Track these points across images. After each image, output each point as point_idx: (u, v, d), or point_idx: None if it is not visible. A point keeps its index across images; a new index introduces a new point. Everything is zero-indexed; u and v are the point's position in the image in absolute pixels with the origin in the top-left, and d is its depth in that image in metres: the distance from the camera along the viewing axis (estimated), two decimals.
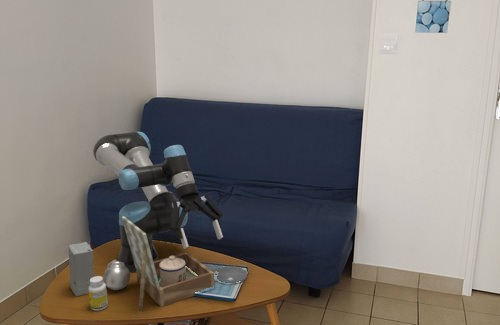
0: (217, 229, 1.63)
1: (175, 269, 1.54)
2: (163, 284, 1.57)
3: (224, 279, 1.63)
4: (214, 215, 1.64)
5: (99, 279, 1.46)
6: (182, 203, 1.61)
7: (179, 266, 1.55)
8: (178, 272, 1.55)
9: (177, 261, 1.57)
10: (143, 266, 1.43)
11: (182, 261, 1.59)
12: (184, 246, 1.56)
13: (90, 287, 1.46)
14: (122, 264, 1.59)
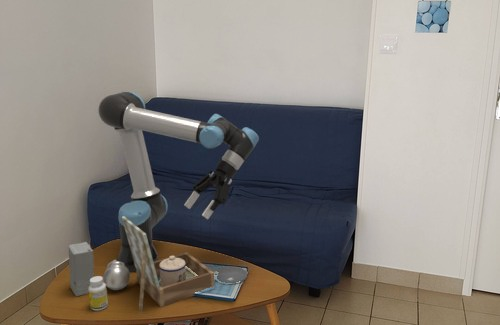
0: (193, 201, 1.73)
1: (175, 269, 1.54)
2: (163, 284, 1.57)
3: (224, 279, 1.63)
4: None
5: (99, 279, 1.46)
6: None
7: (179, 266, 1.55)
8: (178, 272, 1.55)
9: (177, 261, 1.57)
10: (143, 266, 1.43)
11: (182, 261, 1.59)
12: (205, 215, 1.61)
13: (90, 287, 1.46)
14: (122, 264, 1.59)
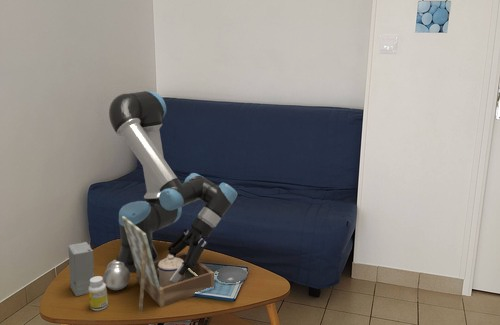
0: None
1: (173, 269, 1.54)
2: (161, 283, 1.57)
3: (224, 279, 1.63)
4: None
5: (99, 279, 1.46)
6: None
7: (177, 266, 1.56)
8: None
9: (176, 261, 1.57)
10: (143, 266, 1.43)
11: (181, 261, 1.59)
12: (174, 280, 1.54)
13: (90, 287, 1.46)
14: (122, 264, 1.59)
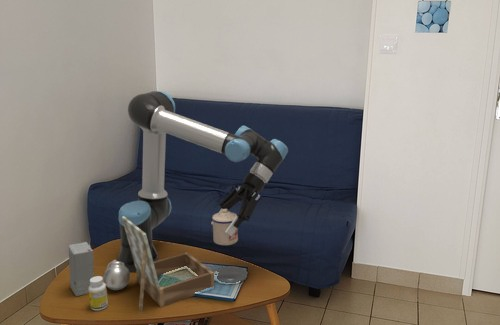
0: None
1: (228, 221, 1.57)
2: (216, 236, 1.59)
3: (224, 279, 1.63)
4: None
5: (99, 279, 1.46)
6: None
7: (232, 218, 1.58)
8: None
9: (230, 214, 1.59)
10: (143, 266, 1.43)
11: (234, 214, 1.61)
12: (229, 232, 1.57)
13: (90, 287, 1.46)
14: (122, 264, 1.59)
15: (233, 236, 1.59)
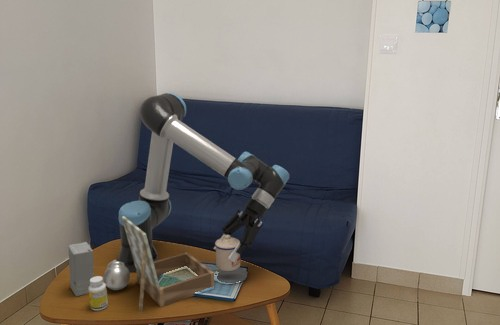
0: None
1: (231, 247, 1.59)
2: (219, 262, 1.62)
3: (224, 279, 1.63)
4: None
5: (99, 279, 1.46)
6: None
7: (235, 245, 1.60)
8: None
9: (232, 240, 1.62)
10: (143, 266, 1.43)
11: (237, 240, 1.64)
12: (232, 259, 1.59)
13: (90, 287, 1.46)
14: (122, 264, 1.59)
15: (236, 262, 1.62)
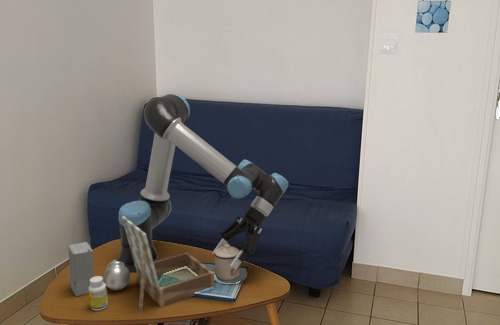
0: None
1: (230, 257, 1.60)
2: (218, 271, 1.63)
3: None
4: None
5: (99, 279, 1.46)
6: None
7: (234, 254, 1.62)
8: (233, 260, 1.61)
9: (232, 249, 1.63)
10: (143, 266, 1.43)
11: (236, 250, 1.65)
12: (234, 266, 1.59)
13: (90, 287, 1.46)
14: (122, 264, 1.59)
15: (235, 271, 1.63)
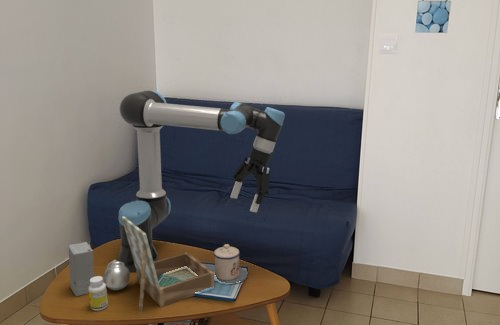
0: (237, 190, 1.75)
1: (230, 257, 1.60)
2: (218, 271, 1.63)
3: None
4: None
5: (99, 279, 1.46)
6: None
7: (234, 254, 1.62)
8: (233, 260, 1.61)
9: (231, 249, 1.63)
10: (143, 266, 1.43)
11: (236, 250, 1.65)
12: (253, 210, 1.64)
13: (90, 287, 1.46)
14: (122, 264, 1.59)
15: (235, 271, 1.63)
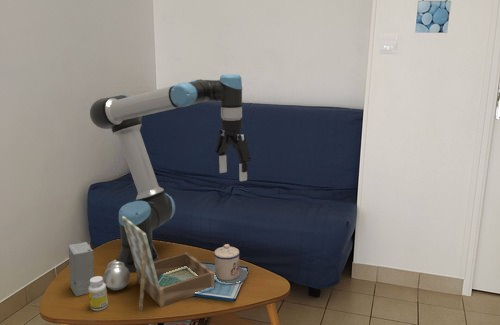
0: (224, 164, 1.74)
1: (230, 257, 1.60)
2: (218, 271, 1.63)
3: None
4: None
5: (99, 279, 1.46)
6: None
7: (234, 254, 1.62)
8: (233, 260, 1.61)
9: (231, 249, 1.63)
10: (143, 266, 1.43)
11: (236, 250, 1.65)
12: (243, 179, 1.63)
13: (90, 287, 1.46)
14: (122, 264, 1.59)
15: (235, 271, 1.63)
